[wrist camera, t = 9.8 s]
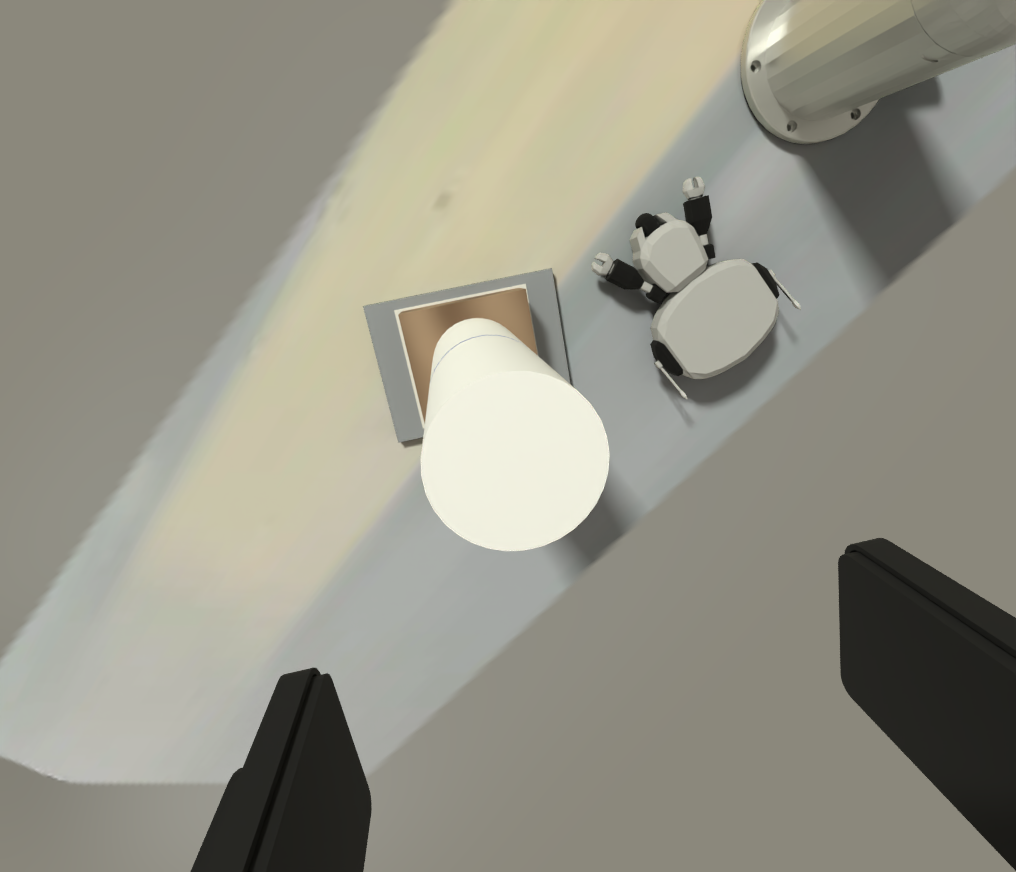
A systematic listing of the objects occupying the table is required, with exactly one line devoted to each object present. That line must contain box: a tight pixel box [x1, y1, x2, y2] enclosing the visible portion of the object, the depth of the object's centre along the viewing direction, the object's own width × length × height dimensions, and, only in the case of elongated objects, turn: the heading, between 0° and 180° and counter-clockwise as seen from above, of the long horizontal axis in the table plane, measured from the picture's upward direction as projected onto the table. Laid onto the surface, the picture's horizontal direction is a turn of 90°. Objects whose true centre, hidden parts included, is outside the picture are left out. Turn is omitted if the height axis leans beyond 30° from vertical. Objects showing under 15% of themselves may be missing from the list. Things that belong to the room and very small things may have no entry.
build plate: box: [363, 268, 570, 443], centre depth 50 cm, size 16×12×1 cm
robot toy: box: [591, 177, 801, 399], centre depth 49 cm, size 12×4×15 cm
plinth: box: [398, 288, 538, 423], centre depth 47 cm, size 10×10×4 cm
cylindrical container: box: [421, 318, 609, 551], centre depth 33 cm, size 7×7×25 cm
